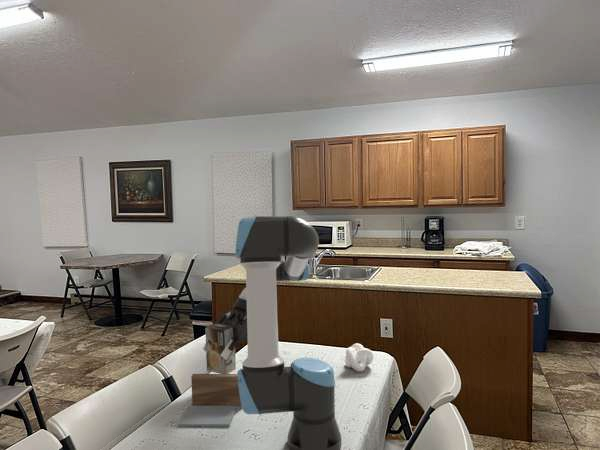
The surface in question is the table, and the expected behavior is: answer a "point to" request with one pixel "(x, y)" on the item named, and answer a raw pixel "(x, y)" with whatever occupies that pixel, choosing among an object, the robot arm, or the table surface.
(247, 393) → the robot arm
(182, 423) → the mat
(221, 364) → the coffee box
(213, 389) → the walnut screen
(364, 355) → the white lobed ornament
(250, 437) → the table surface
